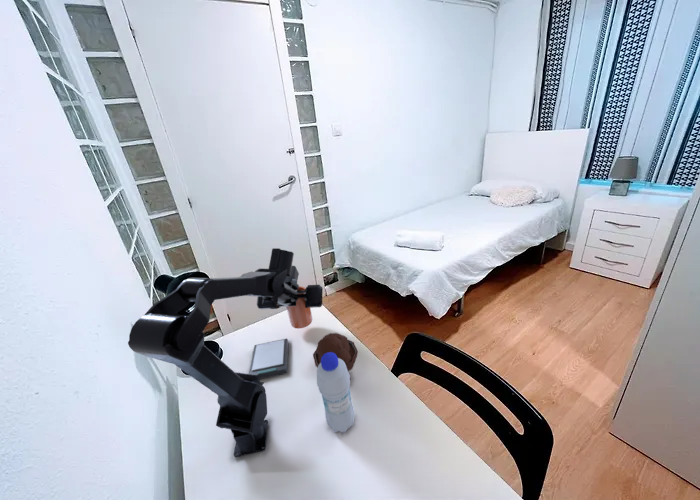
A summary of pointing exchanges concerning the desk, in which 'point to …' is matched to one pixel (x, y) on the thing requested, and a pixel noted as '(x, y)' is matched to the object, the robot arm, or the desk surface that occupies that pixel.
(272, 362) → the scale
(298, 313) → the tumbler
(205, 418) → the desk surface
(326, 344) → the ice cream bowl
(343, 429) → the bottle
